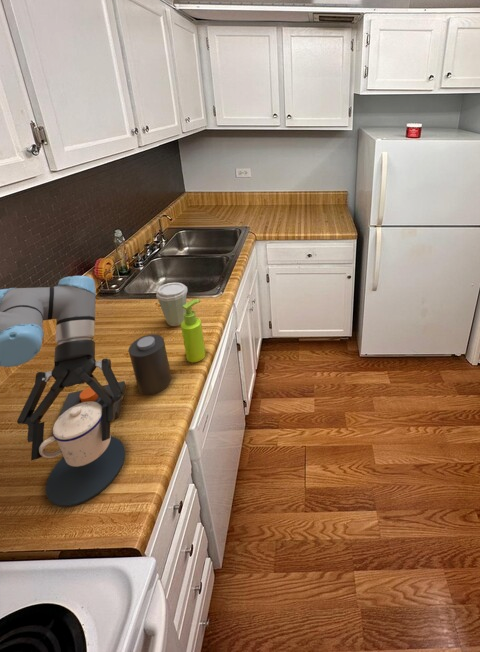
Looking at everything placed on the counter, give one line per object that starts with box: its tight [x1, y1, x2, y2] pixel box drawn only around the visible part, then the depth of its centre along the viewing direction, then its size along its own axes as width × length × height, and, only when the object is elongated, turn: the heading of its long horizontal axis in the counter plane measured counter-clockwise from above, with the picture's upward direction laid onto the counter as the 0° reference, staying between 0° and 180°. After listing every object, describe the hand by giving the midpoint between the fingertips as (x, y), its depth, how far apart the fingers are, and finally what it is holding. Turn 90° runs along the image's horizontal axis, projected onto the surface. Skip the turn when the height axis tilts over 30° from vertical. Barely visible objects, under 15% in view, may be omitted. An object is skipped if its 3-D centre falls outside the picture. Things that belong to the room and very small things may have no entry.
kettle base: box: [57, 380, 127, 419], centre depth 89 cm, size 14×11×4 cm
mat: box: [45, 436, 126, 508], centre depth 75 cm, size 15×15×1 cm
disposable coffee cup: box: [155, 282, 188, 327], centre depth 122 cm, size 11×11×15 cm
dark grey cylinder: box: [128, 334, 173, 396], centre depth 96 cm, size 9×11×15 cm
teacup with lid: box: [39, 401, 112, 467], centre depth 71 cm, size 12×9×12 cm
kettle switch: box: [80, 386, 99, 403], centre depth 88 cm, size 4×4×2 cm
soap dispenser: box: [180, 298, 206, 363], centre depth 105 cm, size 6×7×20 cm
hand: (72, 449), depth 69 cm, fingers closed on teacup with lid, 12 cm apart
